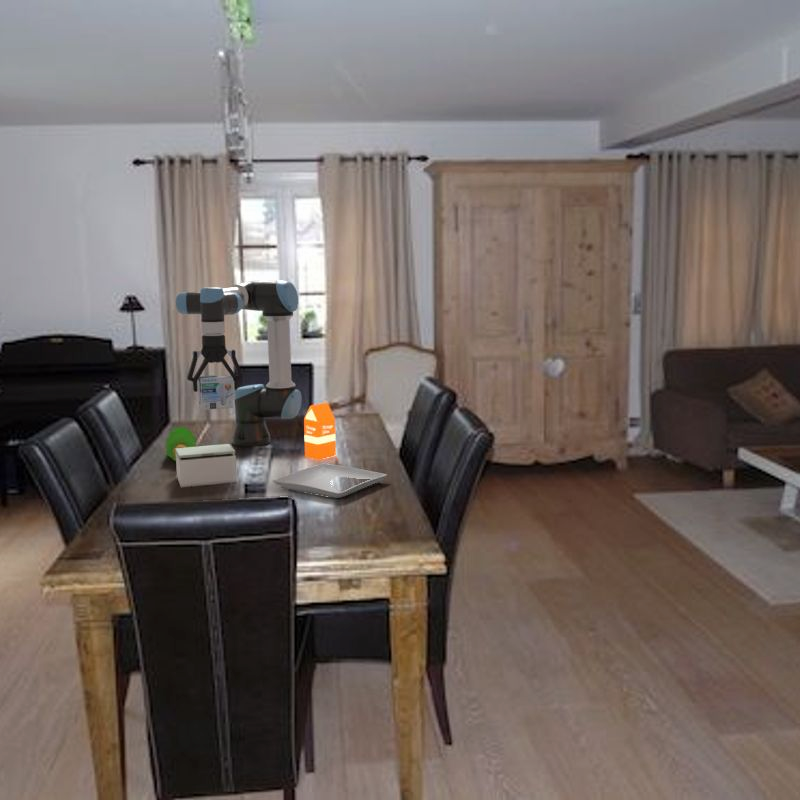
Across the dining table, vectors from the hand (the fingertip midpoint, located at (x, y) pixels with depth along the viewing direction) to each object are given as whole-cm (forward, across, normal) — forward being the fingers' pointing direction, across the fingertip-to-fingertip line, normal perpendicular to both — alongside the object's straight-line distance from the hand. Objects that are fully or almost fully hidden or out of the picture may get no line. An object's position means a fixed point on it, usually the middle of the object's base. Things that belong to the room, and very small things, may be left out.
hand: (216, 400), depth 272 cm
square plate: (+27, -32, +25) cm, 49 cm away
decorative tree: (+27, +8, -35) cm, 45 cm away
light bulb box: (+3, 0, 0) cm, 3 cm away
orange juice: (+26, -40, -15) cm, 50 cm away
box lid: (+17, +5, +2) cm, 18 cm away
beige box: (+27, +4, +2) cm, 27 cm away
